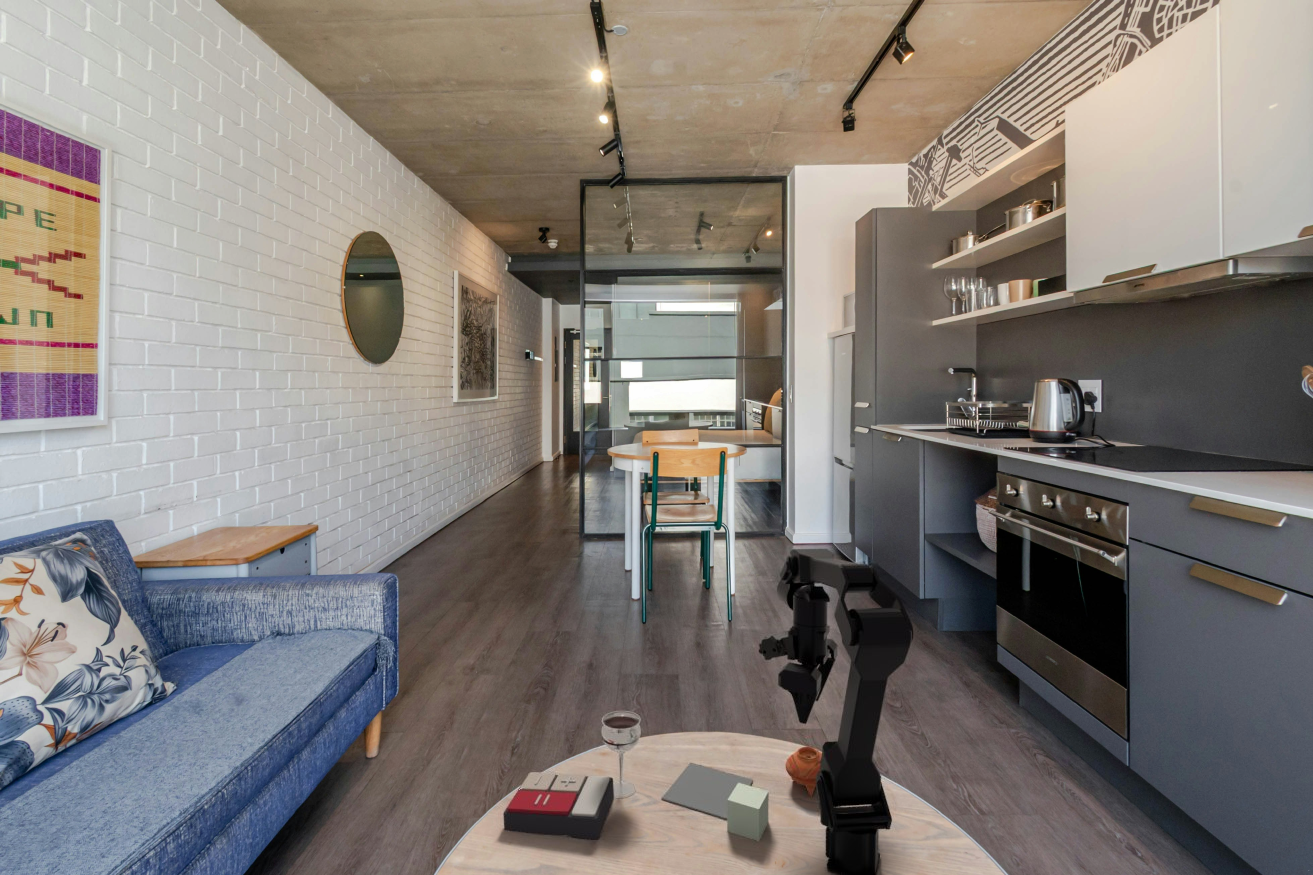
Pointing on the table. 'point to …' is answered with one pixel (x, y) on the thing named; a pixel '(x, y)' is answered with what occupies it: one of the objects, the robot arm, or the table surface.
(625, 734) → the wineglass
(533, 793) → the calculator
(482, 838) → the table surface
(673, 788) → the charcoal mat
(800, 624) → the robot arm
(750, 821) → the sage block
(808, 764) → the pot
